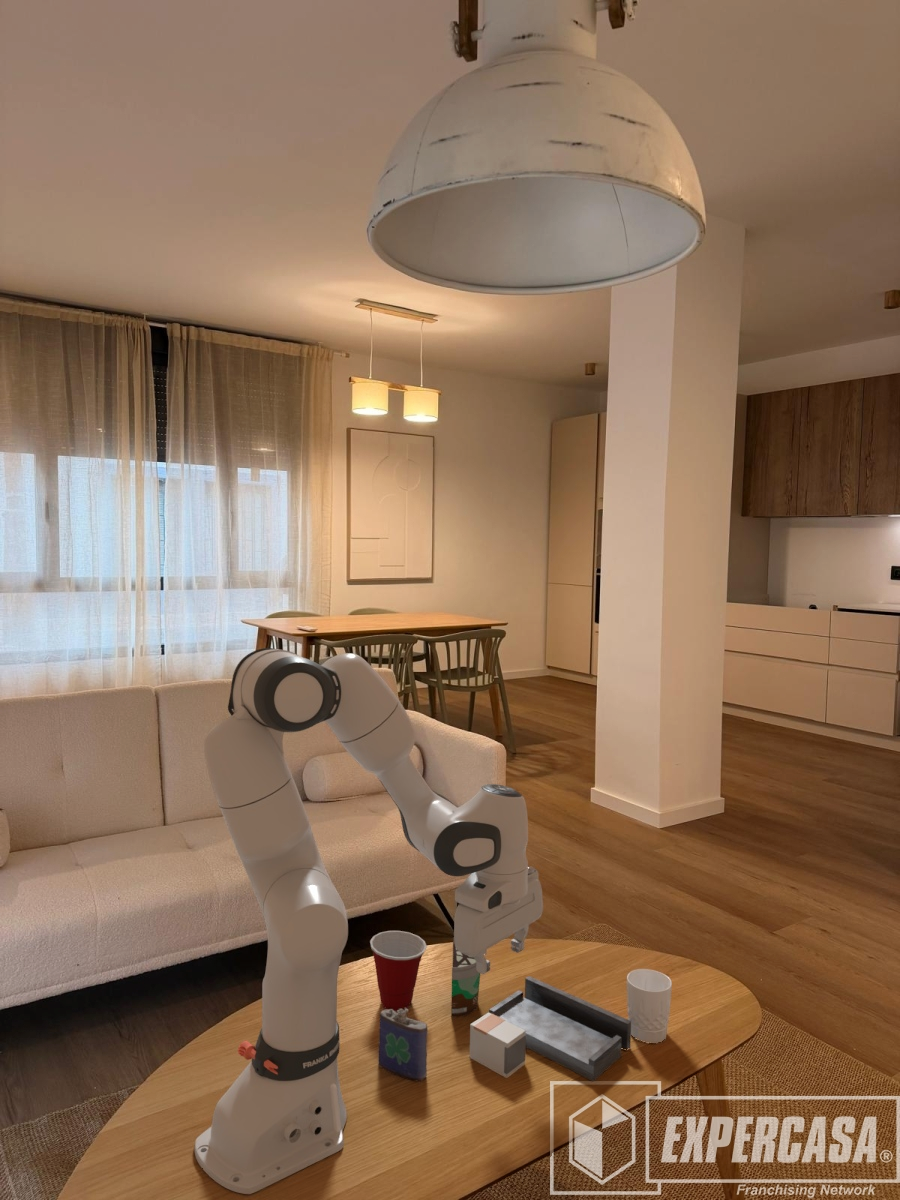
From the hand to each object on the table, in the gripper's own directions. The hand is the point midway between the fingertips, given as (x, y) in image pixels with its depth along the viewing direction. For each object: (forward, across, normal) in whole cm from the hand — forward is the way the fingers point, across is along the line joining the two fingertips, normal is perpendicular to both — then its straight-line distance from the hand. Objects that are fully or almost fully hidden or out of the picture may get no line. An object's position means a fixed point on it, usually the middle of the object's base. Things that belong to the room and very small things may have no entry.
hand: (500, 960), depth 138 cm
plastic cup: (+18, 0, -25) cm, 31 cm away
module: (+18, 0, 0) cm, 18 cm away
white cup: (+18, -24, +15) cm, 34 cm away
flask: (+18, +14, -10) cm, 24 cm away
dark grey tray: (+18, -12, +4) cm, 22 cm away
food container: (+18, -10, -15) cm, 25 cm away
